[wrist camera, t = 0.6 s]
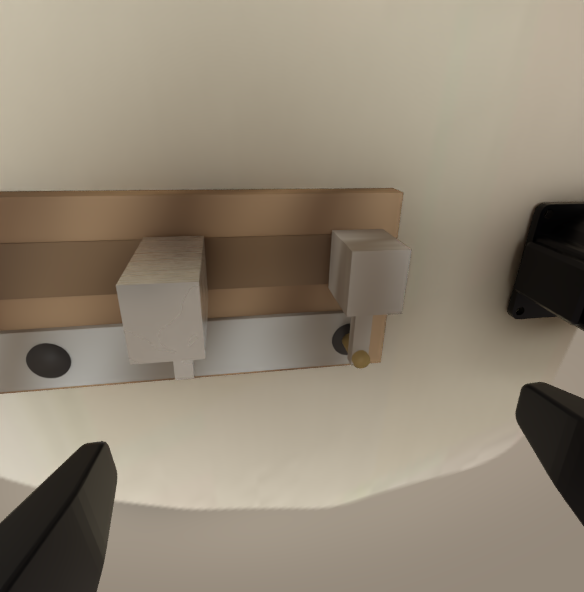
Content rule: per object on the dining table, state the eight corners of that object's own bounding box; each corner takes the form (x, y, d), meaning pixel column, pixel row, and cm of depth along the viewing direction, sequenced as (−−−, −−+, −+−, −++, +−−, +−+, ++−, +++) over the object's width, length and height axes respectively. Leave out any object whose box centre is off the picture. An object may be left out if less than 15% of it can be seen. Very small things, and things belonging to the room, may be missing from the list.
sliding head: (203, 235, 17) (198, 281, 12) (212, 356, 19) (211, 432, 15) (143, 237, 16) (115, 285, 12) (160, 360, 19) (143, 439, 14)
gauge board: (392, 187, 19) (437, 207, 15) (372, 350, 23) (404, 399, 19) (-91, 192, 16) (-191, 219, 12) (-20, 380, 19) (-79, 447, 15)
